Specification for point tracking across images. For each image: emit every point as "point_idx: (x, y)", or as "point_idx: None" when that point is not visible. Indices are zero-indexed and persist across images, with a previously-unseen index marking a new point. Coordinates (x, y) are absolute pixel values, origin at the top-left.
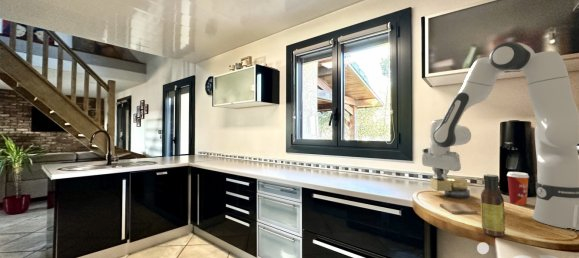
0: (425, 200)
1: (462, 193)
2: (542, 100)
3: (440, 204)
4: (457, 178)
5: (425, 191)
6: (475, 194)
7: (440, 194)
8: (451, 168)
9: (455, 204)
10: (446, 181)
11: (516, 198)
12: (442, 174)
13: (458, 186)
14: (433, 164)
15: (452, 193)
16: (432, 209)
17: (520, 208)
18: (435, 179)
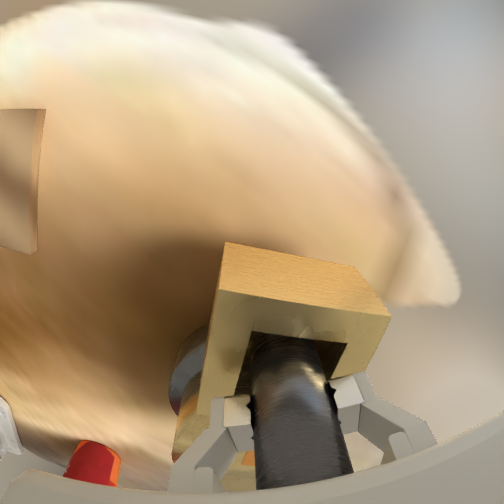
0: (171, 76)
1: (170, 380)
2: None
3: (32, 109)
4: None
5: (397, 248)
6: None
7: None
8: (43, 495)
9: (18, 201)
10: (202, 377)
11: (73, 457)
12: (236, 424)
13: (183, 407)
14: (419, 501)
15: (203, 341)
16: (17, 40)
17: (45, 417)
18: (309, 329)
